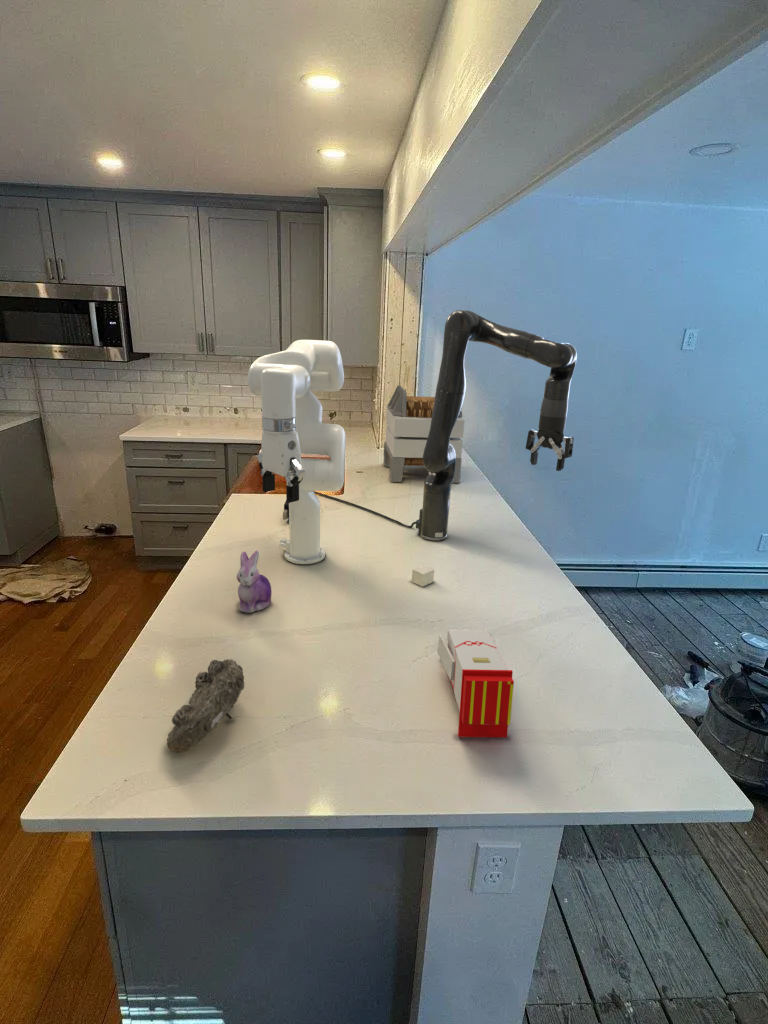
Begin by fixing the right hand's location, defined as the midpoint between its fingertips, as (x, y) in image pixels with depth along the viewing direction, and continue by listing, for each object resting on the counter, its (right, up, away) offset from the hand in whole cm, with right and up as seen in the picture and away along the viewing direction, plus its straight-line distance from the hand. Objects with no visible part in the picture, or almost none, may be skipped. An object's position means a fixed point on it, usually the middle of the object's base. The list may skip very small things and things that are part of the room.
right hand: (546, 467), depth 172 cm
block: (-38, -34, -6) cm, 51 cm away
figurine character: (-82, -16, +38) cm, 92 cm away
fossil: (-82, -53, -64) cm, 116 cm away
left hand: (-74, -10, -37) cm, 83 cm away
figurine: (-83, -38, -23) cm, 94 cm away
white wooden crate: (-32, +5, +103) cm, 108 cm away
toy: (-31, -51, -53) cm, 80 cm away
